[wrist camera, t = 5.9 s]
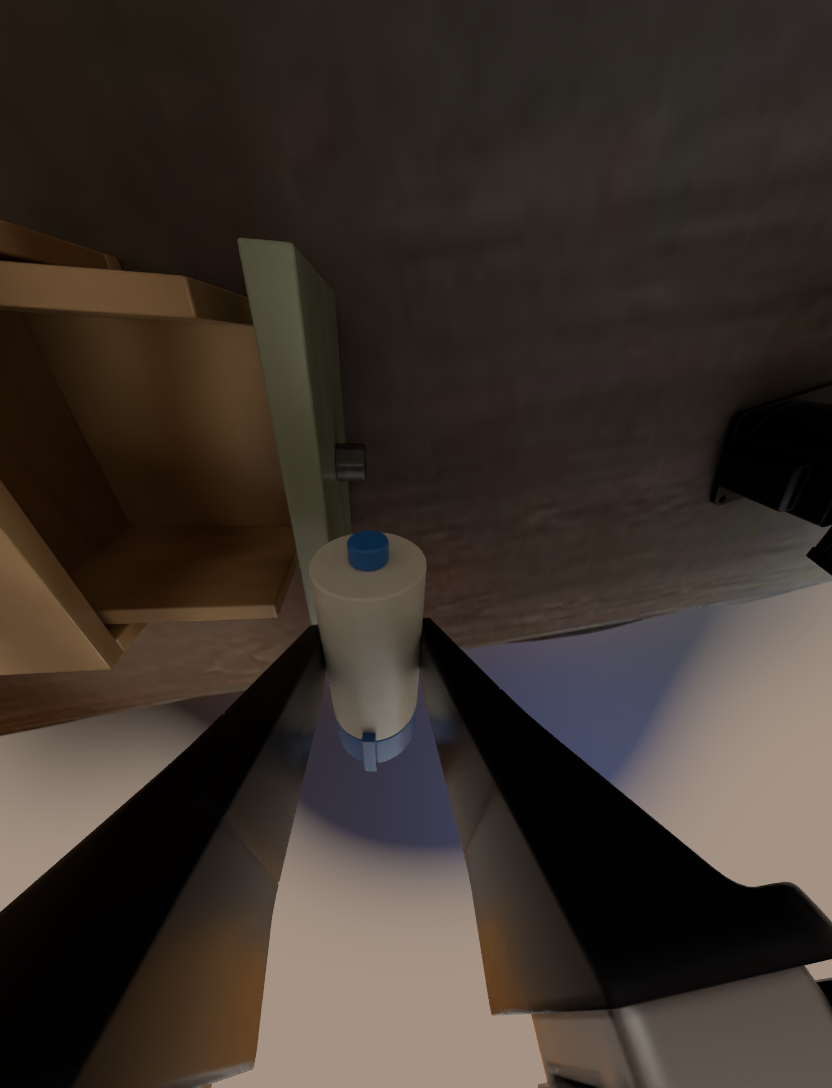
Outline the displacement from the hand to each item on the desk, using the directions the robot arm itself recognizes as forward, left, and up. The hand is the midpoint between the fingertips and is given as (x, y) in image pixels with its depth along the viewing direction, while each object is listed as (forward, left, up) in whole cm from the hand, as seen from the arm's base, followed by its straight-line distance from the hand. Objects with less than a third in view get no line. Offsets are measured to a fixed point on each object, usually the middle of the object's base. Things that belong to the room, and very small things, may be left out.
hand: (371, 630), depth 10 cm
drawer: (+6, -5, -11) cm, 13 cm away
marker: (0, 0, -1) cm, 1 cm away
